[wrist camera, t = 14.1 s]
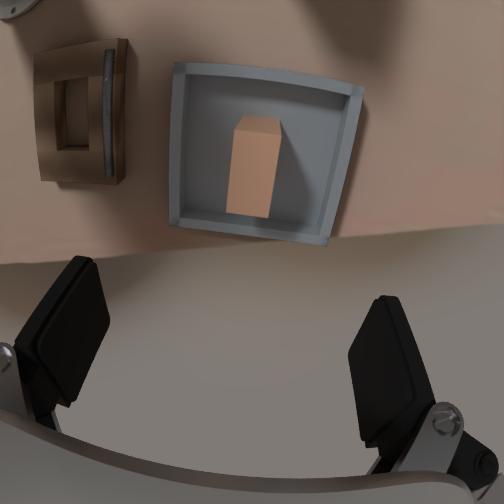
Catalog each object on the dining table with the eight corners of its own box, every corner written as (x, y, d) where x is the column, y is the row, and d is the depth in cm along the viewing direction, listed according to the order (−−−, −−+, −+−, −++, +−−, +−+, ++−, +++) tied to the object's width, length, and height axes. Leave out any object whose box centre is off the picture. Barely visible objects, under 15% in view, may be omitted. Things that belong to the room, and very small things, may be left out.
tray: (182, 62, 22) (174, 62, 20) (356, 85, 22) (364, 87, 20) (176, 213, 31) (169, 225, 28) (323, 233, 31) (326, 246, 29)
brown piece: (46, 53, 21) (31, 54, 19) (127, 39, 21) (115, 37, 19) (51, 174, 28) (38, 182, 26) (125, 177, 29) (114, 187, 26)
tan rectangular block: (244, 114, 24) (234, 129, 18) (279, 119, 24) (281, 135, 18) (236, 178, 28) (225, 212, 22) (269, 182, 28) (267, 218, 22)
